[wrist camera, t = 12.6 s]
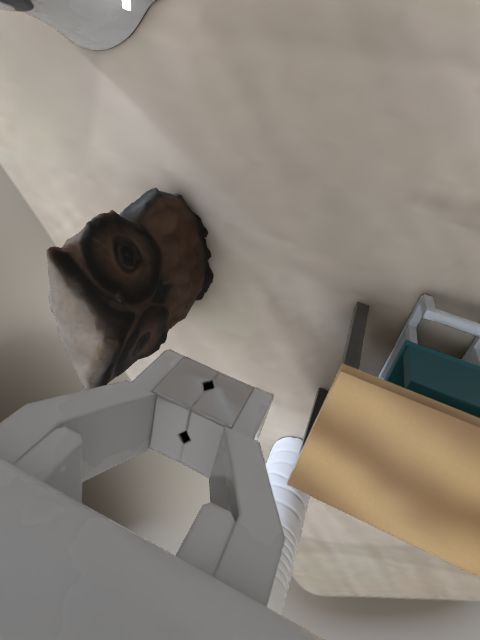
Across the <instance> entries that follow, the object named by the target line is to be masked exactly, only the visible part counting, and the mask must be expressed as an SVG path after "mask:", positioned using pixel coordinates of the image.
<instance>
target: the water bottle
mask: <svg viewBox="0 0 480 640" xmlns="http://www.w3.org/2000/svg"><path fill="white" fill-rule="evenodd" d="M302 441H303V440H301V439H298V438H293V437H285V438H282V439H279V440H278V441H277V442H276V443H275V444H274V446H273V448H272V450H271V453H270V456H269V459H268V461H267V463H266V469H267V473H268V476H269V480H270V484H271V488H272V491H273V495H274V499H275V502H276V506H277V510H278V513H279V517H280V521H281V525H282V528H283V532H284V536H285V542H284V546H283V549H282V553H281V557H280V560H279V564H278V568H277V571H276V575H275V579H274V583H273V586H272V590H271V594H270V597H269V601H268V605H267V607H268V608H269V609H271V610H273V611H275V612H276V613H278V614H280V615H282V614H283V610H284V604H285V599H286V594H287V591H288V586H289V583H290V578H291V574H292V570H293V565H294V561H295V556H296V553H297V548H298V545H299V541H300V537H301V533H302V527H303V524H304V520H305V514H306V511H307V507H308V502H309V498H310V495H307V494H305V493H303V492H301V491H299V490H297V489H295V488H293V487H291V486H289V485H287V483H288V479H289V476H290V474H291V471H292V469H293V467H294V465H295V463H296V461H297V458H298V454H299V451H300V448H301V445H302Z"/></svg>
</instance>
